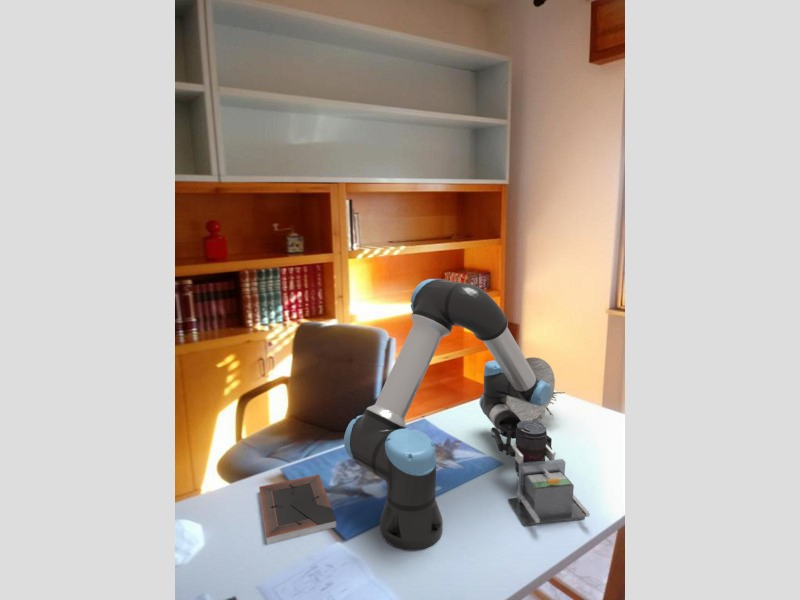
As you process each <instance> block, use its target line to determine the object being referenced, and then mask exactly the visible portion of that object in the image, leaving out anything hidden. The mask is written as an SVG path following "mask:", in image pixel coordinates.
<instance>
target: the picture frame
mask: <svg viewBox="0 0 800 600" xmlns="http://www.w3.org/2000/svg"><path fill="white" fill-rule="evenodd" d="M258 489H259V498H260V505H261V511H262V519H263V525H264V534H265V540H266V545H270V544H275V543H277V542H283V541H285V540H289V539H293V538H298V537H302V536H306V535H310V534H313V533H317V532H322V531H326V530H330V529H334V528H337V520H336V517H335V514H334V511H333V508H332V506H331V503H330V500H329V498H328V494H327V492H326V490H325V486H324V484H323V482H322V478H321V476H320V474H315V475H310V476H305V477H300V478H295V479H289V480H286V481H281V482H277V483H272V484H267V485H266V484H265V485H261V486H259V487H258Z"/></svg>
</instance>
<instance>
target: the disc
mask: <svg viewBox="0 0 800 600" xmlns="http://www.w3.org/2000/svg"><path fill="white" fill-rule="evenodd" d="M525 359H526V360H527V362H528V364H529V365H530V367H531V369H532V371H533V372H534V374H535V376H536V378H537V379H538V380H542V381H544V382H546V383H548V384H549V385H550V389H551V393H550V397H549V400H548V402H547V403H546V404H545V405H543V406H537V405H534V404H530V403H527V402H524V401H522V400H519V399H516V398H513V397H510V396H507V400H506V403H507V405H508V406H509V407H510V408H511V410H512V411H513V412H514V413H515V414H516V415H517V416H518V417H519V418H520V420H521V421H534V420H535V419H536V418H539V417H540V419H541V420H542V414H543V413H544V414H546V411H547V412H548V413H549V415H550V416H552V417H553V416H554V415H553V413H552V412H551V411H550V409H549V405H551V404H552V405H555V403H554V402H556V401H557V398H556V397H558V395H557V394H560V395H561V394H565V393H566V392H565V391H563V392H561V391H560V392H559V391H555V385H556V384H555V383H556V381H555V380H556V378H555V373H554V370H553V369H552V367H551V366H550V364H549V363H548V362H547V361H546V360H544V359H542V358H539V357H527V358H526V357H525ZM553 401H554V402H553ZM545 410H546V411H545Z"/></svg>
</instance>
